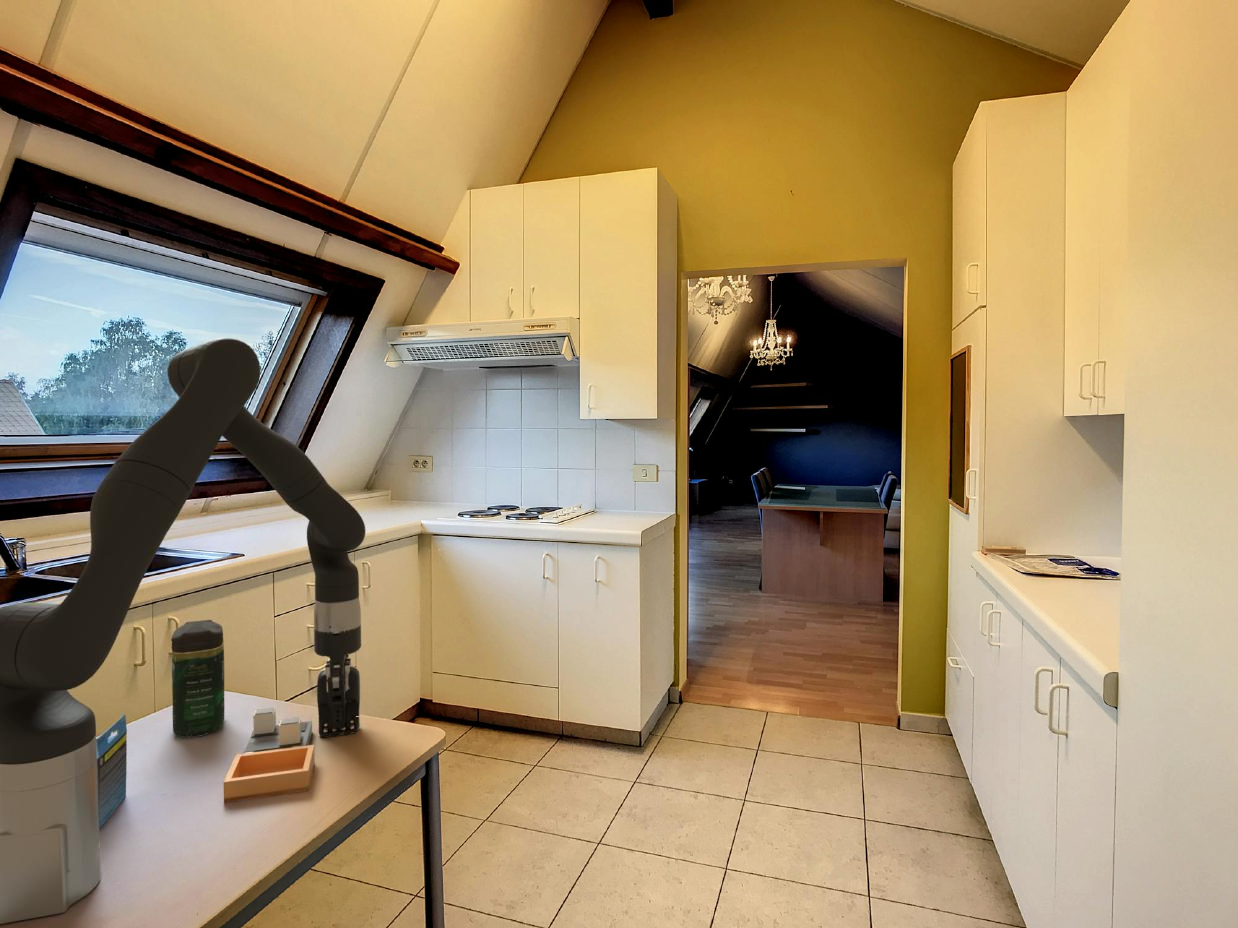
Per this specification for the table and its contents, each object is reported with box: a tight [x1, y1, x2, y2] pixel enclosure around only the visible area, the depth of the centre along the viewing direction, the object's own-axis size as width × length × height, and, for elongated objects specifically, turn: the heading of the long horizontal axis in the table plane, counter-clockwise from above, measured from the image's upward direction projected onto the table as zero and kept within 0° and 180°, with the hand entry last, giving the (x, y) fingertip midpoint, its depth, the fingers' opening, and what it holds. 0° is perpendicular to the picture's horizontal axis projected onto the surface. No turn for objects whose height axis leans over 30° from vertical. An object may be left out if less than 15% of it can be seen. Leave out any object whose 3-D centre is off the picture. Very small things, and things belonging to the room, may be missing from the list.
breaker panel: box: [242, 720, 313, 754], centre depth 113 cm, size 12×9×2 cm
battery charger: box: [316, 665, 361, 738], centre depth 120 cm, size 7×4×11 cm, turn 109°
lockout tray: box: [222, 744, 315, 804], centre depth 103 cm, size 9×11×3 cm
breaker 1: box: [252, 706, 277, 735], centre depth 116 cm, size 2×3×3 cm
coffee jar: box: [170, 619, 226, 738], centre depth 121 cm, size 10×8×19 cm
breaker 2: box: [278, 716, 302, 745], centre depth 112 cm, size 2×3×3 cm
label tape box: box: [96, 713, 128, 830], centre depth 94 cm, size 9×4×12 cm, turn 15°
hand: (339, 720), depth 120 cm, fingers closed on battery charger, 3 cm apart
